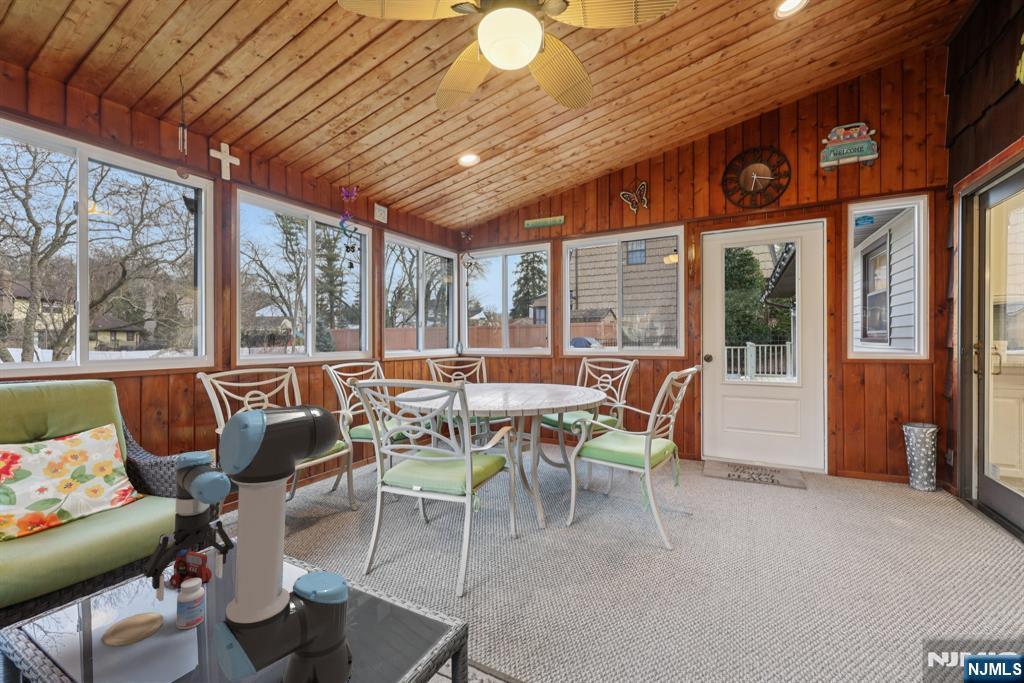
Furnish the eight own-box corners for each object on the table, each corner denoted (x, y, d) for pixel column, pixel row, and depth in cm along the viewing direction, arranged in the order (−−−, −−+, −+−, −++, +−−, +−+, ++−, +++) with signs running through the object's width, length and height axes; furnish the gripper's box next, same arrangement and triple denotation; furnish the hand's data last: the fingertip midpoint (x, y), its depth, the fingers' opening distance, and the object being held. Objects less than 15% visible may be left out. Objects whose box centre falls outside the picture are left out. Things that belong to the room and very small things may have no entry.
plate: (169, 627, 118) (170, 624, 118) (110, 653, 108) (110, 649, 108) (154, 609, 125) (154, 606, 125) (97, 632, 115) (97, 628, 115)
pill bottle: (189, 632, 117) (190, 590, 116) (170, 628, 118) (171, 586, 118) (209, 617, 123) (210, 577, 122) (191, 614, 124) (192, 574, 124)
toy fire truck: (187, 574, 143) (187, 542, 143) (215, 582, 139) (216, 549, 139) (164, 585, 137) (165, 552, 136) (193, 594, 133) (194, 560, 133)
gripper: (236, 493, 132) (234, 563, 133) (129, 521, 111) (127, 603, 112) (248, 500, 127) (246, 572, 128) (138, 530, 107) (136, 615, 108)
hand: (190, 587), depth 120 cm, fingers open, 13 cm apart
